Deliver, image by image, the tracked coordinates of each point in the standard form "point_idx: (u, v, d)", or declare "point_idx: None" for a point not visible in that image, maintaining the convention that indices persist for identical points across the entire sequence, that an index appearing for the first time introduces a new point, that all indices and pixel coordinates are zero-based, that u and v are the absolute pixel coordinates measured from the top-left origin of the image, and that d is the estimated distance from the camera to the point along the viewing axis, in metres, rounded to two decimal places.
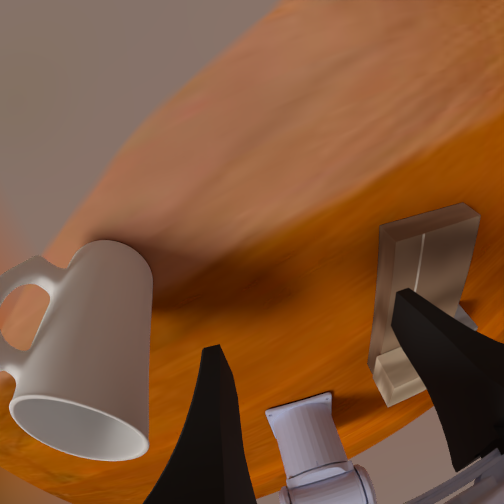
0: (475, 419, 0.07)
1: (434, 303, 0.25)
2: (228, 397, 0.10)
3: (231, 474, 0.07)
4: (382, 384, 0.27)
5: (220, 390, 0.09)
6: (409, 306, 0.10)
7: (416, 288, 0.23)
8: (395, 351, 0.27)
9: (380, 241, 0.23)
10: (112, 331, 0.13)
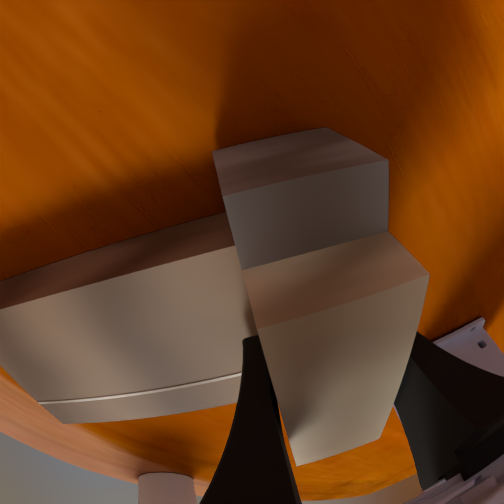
0: (437, 442, 0.07)
1: (143, 352, 0.12)
2: (272, 386, 0.10)
3: (287, 462, 0.07)
4: None
5: (268, 378, 0.09)
6: None
7: (113, 394, 0.13)
8: None
9: None
10: None
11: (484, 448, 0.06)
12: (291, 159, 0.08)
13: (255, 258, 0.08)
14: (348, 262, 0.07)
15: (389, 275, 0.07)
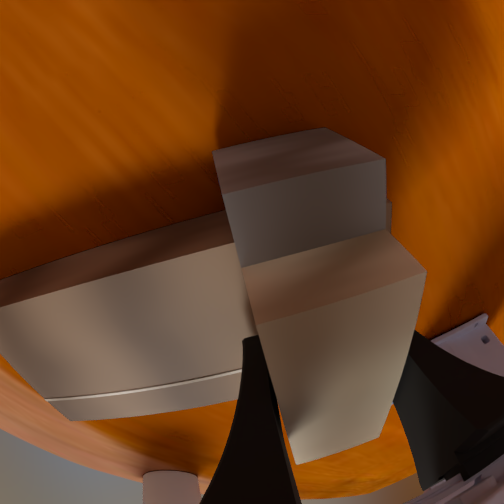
0: (437, 442, 0.07)
1: (155, 346, 0.12)
2: (271, 387, 0.10)
3: (287, 462, 0.07)
4: None
5: (268, 379, 0.09)
6: None
7: (123, 390, 0.13)
8: None
9: None
10: None
11: (484, 448, 0.06)
12: (290, 158, 0.08)
13: (254, 256, 0.08)
14: (346, 259, 0.07)
15: (386, 273, 0.07)
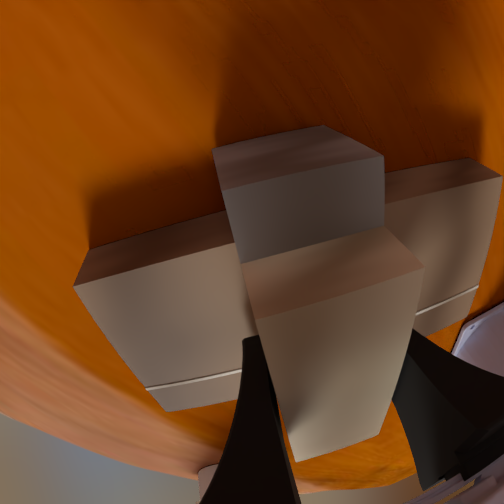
0: (437, 442, 0.07)
1: None
2: (271, 387, 0.10)
3: (287, 462, 0.07)
4: None
5: (268, 379, 0.09)
6: None
7: None
8: None
9: None
10: None
11: (484, 448, 0.06)
12: (288, 156, 0.08)
13: (254, 252, 0.08)
14: (345, 255, 0.07)
15: (385, 268, 0.07)
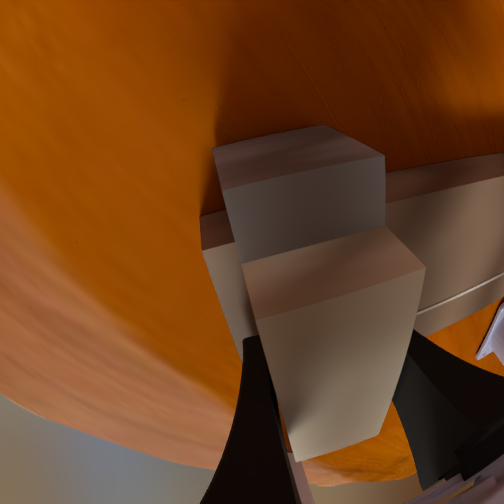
0: (437, 442, 0.07)
1: None
2: (272, 386, 0.10)
3: (287, 462, 0.07)
4: None
5: (268, 378, 0.09)
6: None
7: None
8: None
9: None
10: None
11: (484, 448, 0.06)
12: (289, 155, 0.08)
13: (254, 251, 0.08)
14: (345, 255, 0.07)
15: (386, 268, 0.07)
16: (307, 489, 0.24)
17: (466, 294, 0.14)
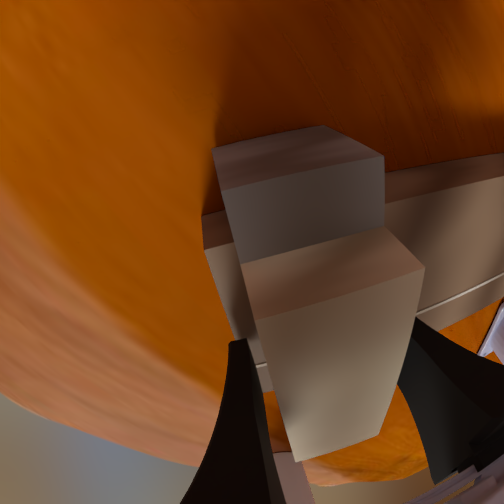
0: (451, 434, 0.07)
1: None
2: (257, 390, 0.10)
3: (268, 467, 0.07)
4: None
5: (252, 383, 0.09)
6: None
7: None
8: None
9: None
10: None
11: (497, 439, 0.06)
12: (288, 156, 0.08)
13: (253, 252, 0.08)
14: (344, 255, 0.07)
15: (385, 268, 0.07)
16: (308, 489, 0.24)
17: (467, 294, 0.14)
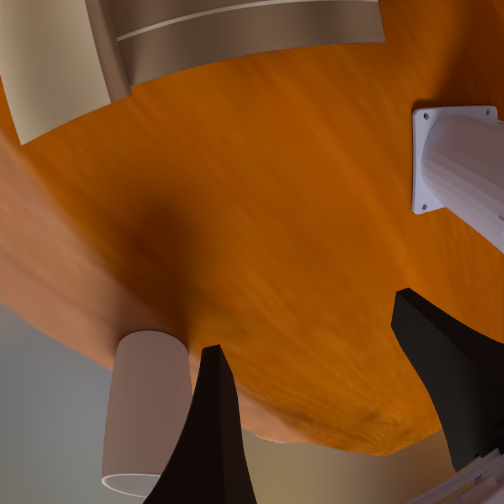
0: (475, 419, 0.07)
1: None
2: (228, 397, 0.10)
3: (231, 474, 0.07)
4: None
5: (220, 390, 0.09)
6: (409, 306, 0.10)
7: (124, 34, 0.11)
8: None
9: None
10: (107, 421, 0.17)
11: None
12: None
13: None
14: None
15: None
16: (180, 383, 0.21)
17: (275, 7, 0.11)
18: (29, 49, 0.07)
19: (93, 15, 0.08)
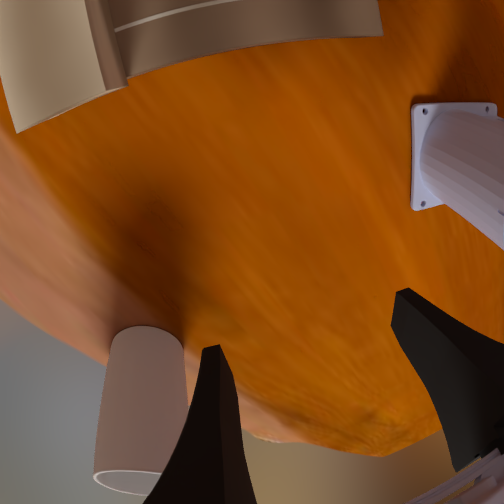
0: (475, 419, 0.07)
1: None
2: (228, 397, 0.10)
3: (231, 474, 0.07)
4: (81, 102, 0.10)
5: (220, 390, 0.09)
6: (409, 306, 0.10)
7: (122, 25, 0.10)
8: None
9: None
10: (100, 416, 0.17)
11: None
12: None
13: None
14: None
15: None
16: (175, 380, 0.20)
17: (273, 0, 0.11)
18: (26, 38, 0.07)
19: (90, 5, 0.07)
